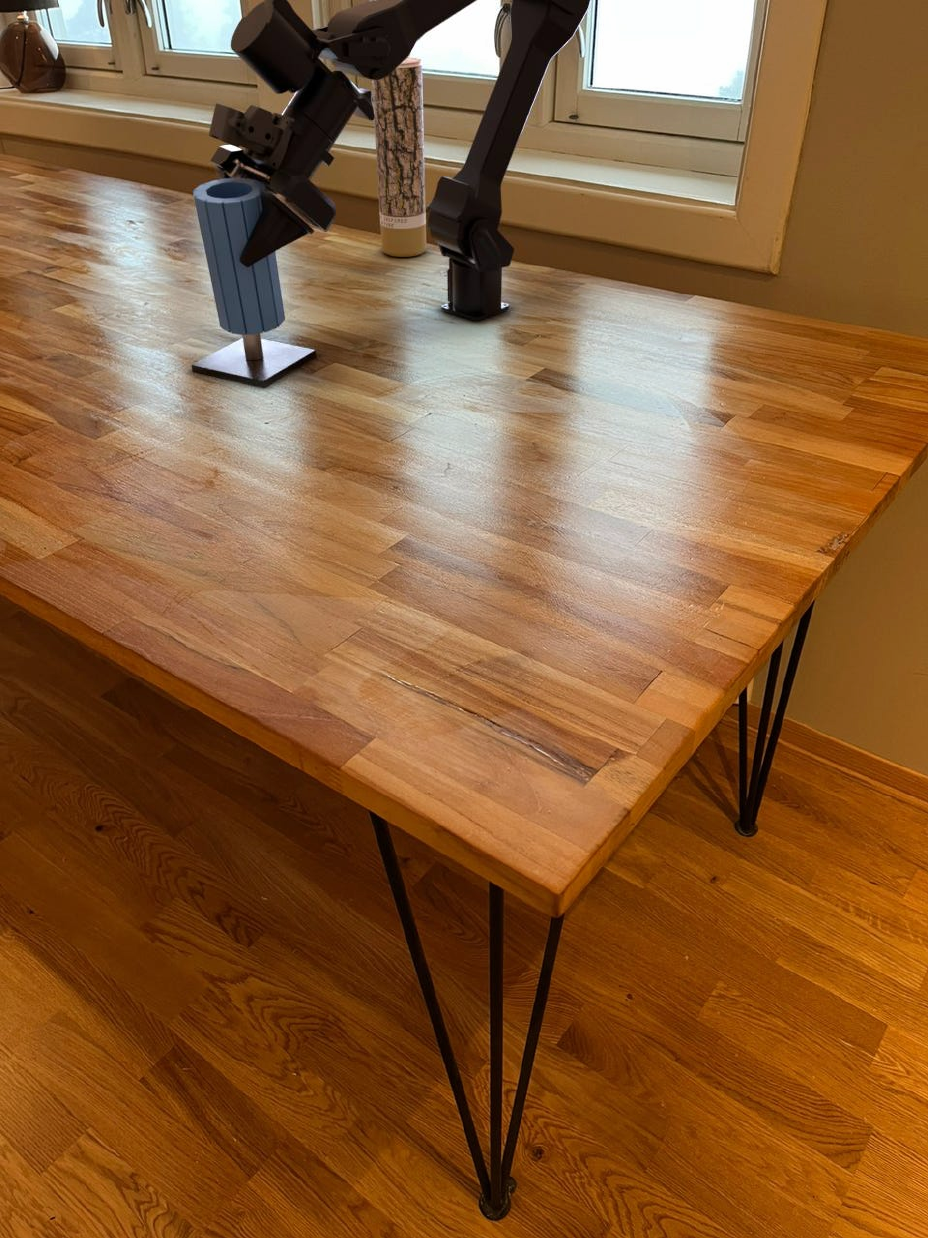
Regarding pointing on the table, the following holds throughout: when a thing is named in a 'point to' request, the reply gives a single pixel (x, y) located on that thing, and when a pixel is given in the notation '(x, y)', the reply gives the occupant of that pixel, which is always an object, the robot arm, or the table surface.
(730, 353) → the table surface
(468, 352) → the table surface
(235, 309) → the blue fluted tube
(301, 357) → the peg stand
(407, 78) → the paper tube
